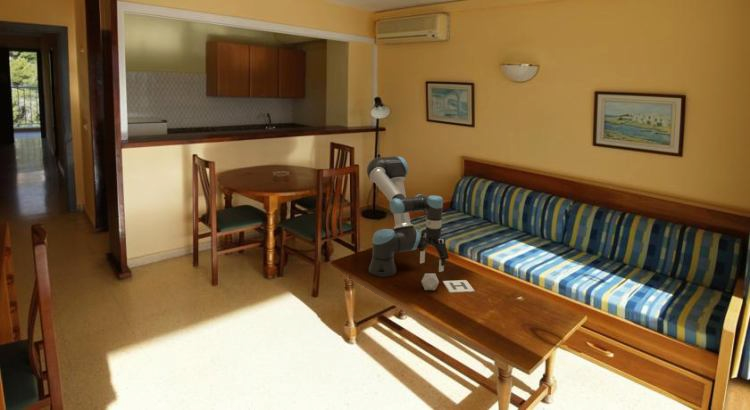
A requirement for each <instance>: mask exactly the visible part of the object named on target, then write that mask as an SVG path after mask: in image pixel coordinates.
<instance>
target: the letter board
mask: <svg viewBox="0 0 750 410" xmlns="http://www.w3.org/2000/svg"><path fill="white" fill-rule="evenodd" d="M442 283H443V284H444V286H445V288H446V290H447V291H448V292H449V293H450V294H456V293H457V294H458V293H459V294H460V293H476V292H475V289H474V287H472V285H471V284H470V283H469V282H468V280H466V279H463V280H462V279H459V280H442Z"/></svg>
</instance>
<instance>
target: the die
mask: <svg viewBox="0 0 750 410" xmlns="http://www.w3.org/2000/svg"><path fill="white" fill-rule="evenodd" d="M420 282H421V284H422V286H423V289H424V291H436V289H437V288H438V285H439V283H440V281H439V279H438V277H437V274H436V273H426V272H425V273H424V275H423V276H422V279H421V281H420Z"/></svg>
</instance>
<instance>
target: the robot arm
mask: <svg viewBox="0 0 750 410" xmlns="http://www.w3.org/2000/svg"><path fill="white" fill-rule="evenodd" d="M408 172H409V167H408V163H407V161H406V160H405V158H404V157H402V156H396V155H395V156H386V157H385V156H382V157H381V156H379V157H375V158H373V159H372V160H371V161H369V163H368V165H367V167H366V174H367V177H368V179H369V181H370V182H371V183H375V185H376V186H377V187H378V189H379V190H380V191H381V192H382V194H383V195H384V196H385V197H386V199H387V200H388V201H389V209H390V211H391V213H392V214H393V218H394V224H395V225H394V227H393V228H392V229H390V228H381V229H379V230H378V229H377V230H376V231H375V232H374V233H373V237H372V257H371V262H370V264H369V266H368V272H369V274H370V275H373V276H375V277H379V278H380V277H381V278H385V277H386V278H387V277H392V276H394V275H396V274H397V266H396V264H395V259H394V257H395V256H394V255H395V254H396V253H403V252H404V253H405V252H410V251H415V250H419V255H418V256H419V264H423V263H425V259H426V250H425V249H426V248H427V247H428V246H429V245H430V246H432V247H434V248H435V249H436V251H437V252H436V253H437V254H438V255H439V261H438V264H439V265H438V272H439V273H442V272H444V270H445V266H446V260H448V259H449V258H450V256H449V254H448V253H449V252H448V250H447V247H446V240H445V239H444V238H442V239H441V235H442V223H443V222H442V220H443V209H444V208H443V207H444V204H443V203H444V199H443V197H442V196H440V195H429V196H427V195H425V194H421V193H420V194H417V195H415V196H409V197H408V196H407V195H406V188H405V182H404V181H405V180H406V176H407V175H408ZM413 212H415V213H416V212H425V213H426V219H425V220H426V224H425V226H426V227H425V232H423V233H421V234H420V232H419V230H418V229H416V228H415V226H414V224H413V223H411V218H410V213H413Z"/></svg>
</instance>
